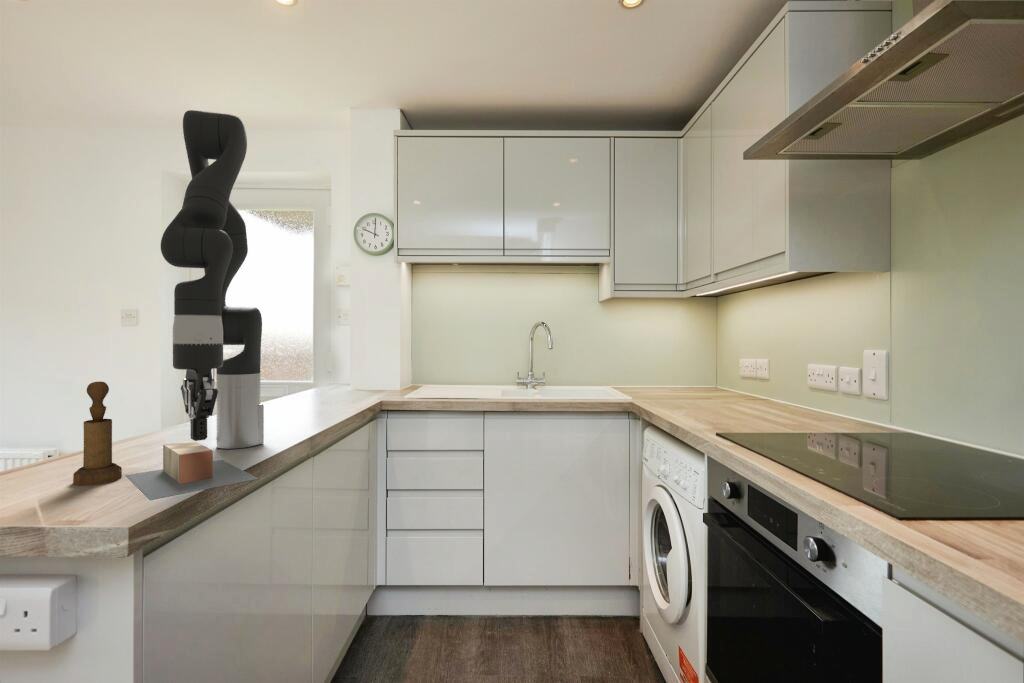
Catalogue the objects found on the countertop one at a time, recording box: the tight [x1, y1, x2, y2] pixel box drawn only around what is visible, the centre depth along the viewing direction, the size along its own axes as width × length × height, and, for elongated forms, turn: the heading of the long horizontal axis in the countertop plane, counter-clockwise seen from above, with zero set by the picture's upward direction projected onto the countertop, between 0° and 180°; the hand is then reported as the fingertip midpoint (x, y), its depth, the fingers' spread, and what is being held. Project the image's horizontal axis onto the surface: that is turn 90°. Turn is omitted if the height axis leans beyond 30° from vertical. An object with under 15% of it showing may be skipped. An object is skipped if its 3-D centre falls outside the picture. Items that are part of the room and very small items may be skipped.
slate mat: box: [125, 459, 259, 501], centre depth 89 cm, size 16×20×1 cm
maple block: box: [162, 440, 214, 484], centre depth 91 cm, size 5×5×12 cm
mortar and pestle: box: [72, 381, 123, 487], centre depth 87 cm, size 7×6×18 cm
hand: (198, 439), depth 87 cm, fingers closed
